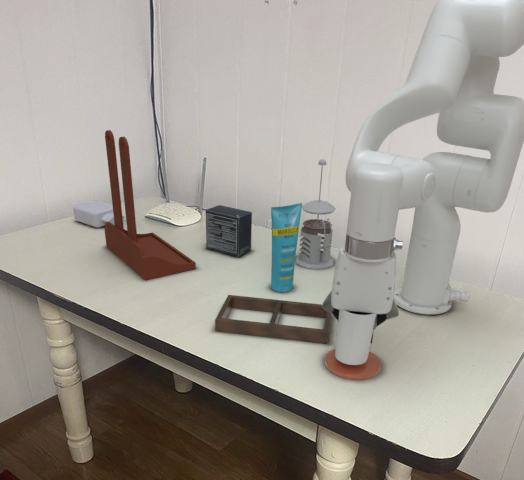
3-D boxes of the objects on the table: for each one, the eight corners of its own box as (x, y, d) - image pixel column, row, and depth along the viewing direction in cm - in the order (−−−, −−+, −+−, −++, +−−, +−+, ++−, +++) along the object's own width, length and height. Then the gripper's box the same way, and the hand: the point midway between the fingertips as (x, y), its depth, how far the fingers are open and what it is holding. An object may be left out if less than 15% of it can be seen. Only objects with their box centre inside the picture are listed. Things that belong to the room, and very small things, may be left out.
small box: (252, 250, 147) (253, 211, 142) (238, 258, 142) (239, 217, 137) (220, 242, 152) (219, 203, 147) (205, 249, 147) (204, 209, 142)
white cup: (335, 344, 104) (342, 295, 99) (371, 350, 103) (380, 301, 97) (329, 362, 98) (336, 311, 93) (367, 369, 97) (376, 318, 92)
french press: (324, 252, 148) (333, 153, 135) (343, 269, 138) (355, 165, 125) (289, 255, 145) (295, 155, 132) (306, 273, 136) (314, 167, 123)
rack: (331, 316, 117) (332, 305, 116) (327, 343, 107) (328, 332, 106) (228, 305, 120) (228, 294, 119) (215, 331, 110) (215, 319, 109)
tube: (274, 295, 125) (278, 210, 115) (262, 287, 128) (265, 203, 118) (301, 288, 128) (307, 205, 118) (289, 280, 132) (294, 199, 122)
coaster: (380, 353, 105) (381, 350, 105) (380, 383, 96) (381, 380, 96) (327, 347, 106) (327, 344, 106) (322, 376, 98) (323, 373, 97)
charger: (109, 233, 155) (75, 221, 162) (135, 225, 161) (100, 214, 169) (107, 217, 152) (72, 205, 160) (133, 209, 159) (98, 198, 166)
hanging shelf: (195, 268, 136) (191, 138, 120) (145, 280, 129) (133, 144, 114) (153, 238, 153) (144, 120, 137) (106, 247, 146) (91, 124, 131)
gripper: (419, 241, 92) (401, 339, 101) (319, 233, 94) (311, 329, 103) (422, 258, 85) (403, 361, 95) (315, 249, 88) (307, 350, 97)
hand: (355, 343), depth 99 cm, fingers closed on white cup, 2 cm apart
